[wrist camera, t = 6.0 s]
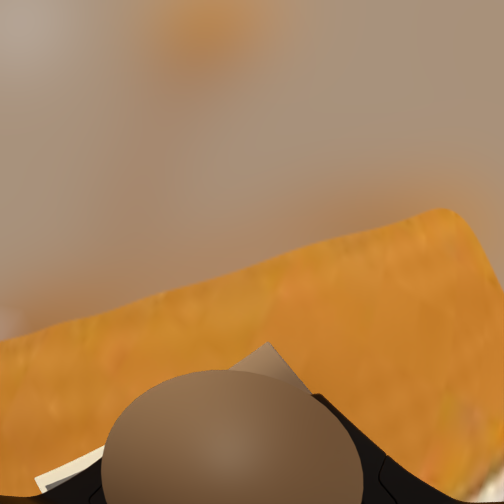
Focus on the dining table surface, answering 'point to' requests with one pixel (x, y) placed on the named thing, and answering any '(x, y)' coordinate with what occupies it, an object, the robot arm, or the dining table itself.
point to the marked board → (67, 470)
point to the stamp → (231, 442)
